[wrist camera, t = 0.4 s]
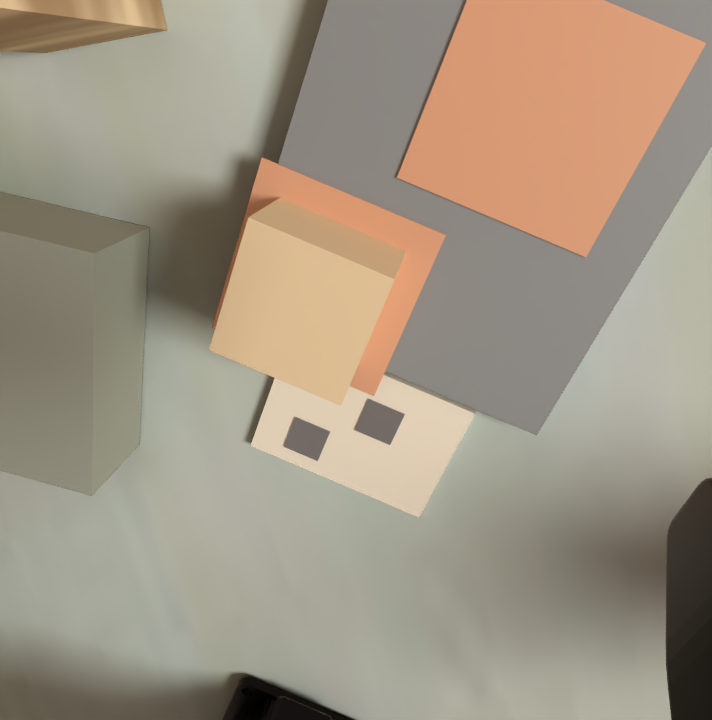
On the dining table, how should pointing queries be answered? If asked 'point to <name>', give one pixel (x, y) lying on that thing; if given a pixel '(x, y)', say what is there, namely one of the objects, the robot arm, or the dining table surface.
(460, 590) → the dining table surface
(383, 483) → the card
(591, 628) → the dining table surface
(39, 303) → the cover
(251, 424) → the dining table surface
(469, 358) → the board
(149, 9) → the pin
